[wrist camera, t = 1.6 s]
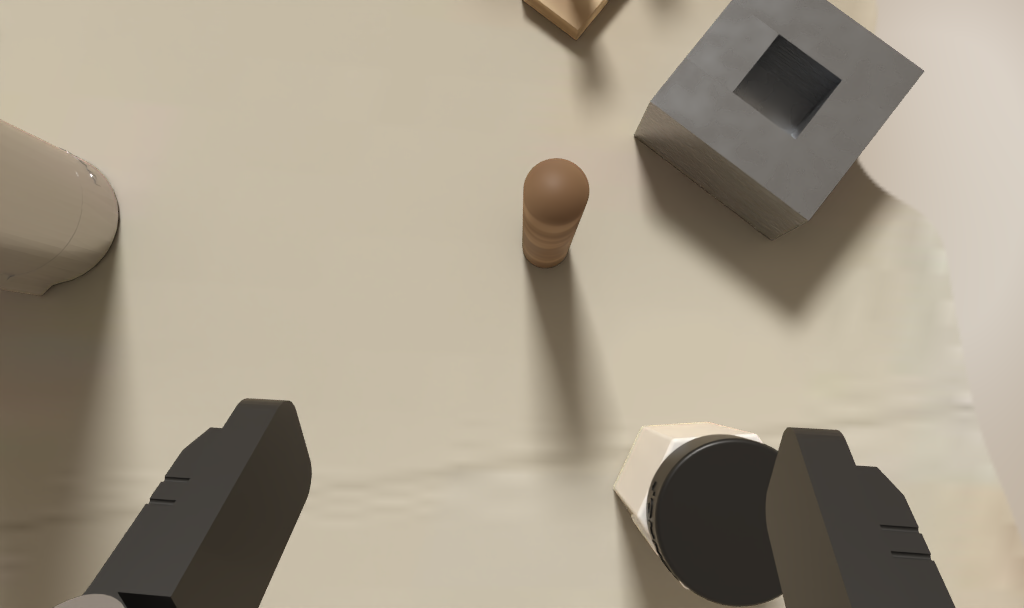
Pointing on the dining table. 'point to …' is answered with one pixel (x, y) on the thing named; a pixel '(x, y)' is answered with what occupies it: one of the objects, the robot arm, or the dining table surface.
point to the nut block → (776, 107)
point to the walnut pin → (552, 210)
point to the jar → (705, 508)
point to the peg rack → (569, 13)
